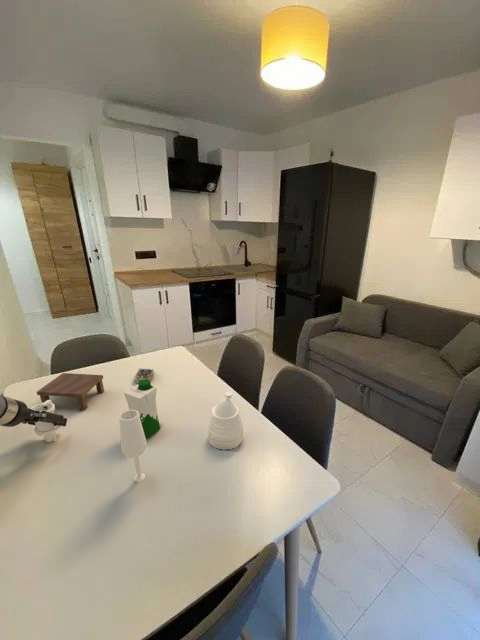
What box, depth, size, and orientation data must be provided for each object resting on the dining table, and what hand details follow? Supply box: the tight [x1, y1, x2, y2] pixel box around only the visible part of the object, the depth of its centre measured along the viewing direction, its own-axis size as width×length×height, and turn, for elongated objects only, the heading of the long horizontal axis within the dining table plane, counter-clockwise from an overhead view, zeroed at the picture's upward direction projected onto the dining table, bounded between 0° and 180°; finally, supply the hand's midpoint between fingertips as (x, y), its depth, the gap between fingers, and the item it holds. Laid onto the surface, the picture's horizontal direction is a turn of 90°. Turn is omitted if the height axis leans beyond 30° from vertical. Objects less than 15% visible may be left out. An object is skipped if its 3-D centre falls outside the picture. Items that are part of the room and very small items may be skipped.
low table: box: [36, 372, 105, 411], centre depth 123 cm, size 18×16×8 cm
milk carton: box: [123, 380, 161, 440], centre depth 104 cm, size 9×9×20 cm
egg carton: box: [133, 367, 154, 385], centre depth 142 cm, size 11×8×4 cm
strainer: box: [29, 399, 61, 443], centre depth 98 cm, size 7×7×15 cm
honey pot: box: [207, 391, 244, 451], centre depth 103 cm, size 13×13×18 cm
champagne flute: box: [118, 409, 148, 482], centre depth 83 cm, size 7×7×24 cm
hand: (54, 422), depth 102 cm, fingers closed on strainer, 7 cm apart
